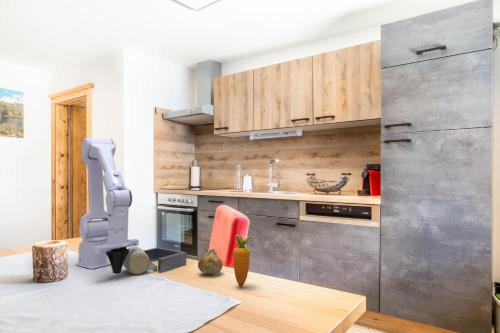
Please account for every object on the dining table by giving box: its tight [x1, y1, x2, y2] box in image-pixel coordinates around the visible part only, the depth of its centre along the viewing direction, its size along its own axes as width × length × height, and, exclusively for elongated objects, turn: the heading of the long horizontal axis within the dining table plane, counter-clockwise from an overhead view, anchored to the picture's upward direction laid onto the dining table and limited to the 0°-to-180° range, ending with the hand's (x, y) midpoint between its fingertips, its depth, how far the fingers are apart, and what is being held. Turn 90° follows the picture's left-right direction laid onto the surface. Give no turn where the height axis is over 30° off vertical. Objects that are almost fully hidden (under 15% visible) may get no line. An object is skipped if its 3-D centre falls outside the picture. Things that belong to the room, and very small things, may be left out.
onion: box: [197, 248, 224, 276], centre depth 108 cm, size 8×8×8 cm
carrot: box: [233, 234, 251, 288], centre depth 96 cm, size 5×5×15 cm
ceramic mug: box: [122, 246, 158, 275], centre depth 109 cm, size 11×8×8 cm
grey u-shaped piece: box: [142, 246, 188, 274], centre depth 117 cm, size 14×12×4 cm
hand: (116, 273), depth 102 cm, fingers closed
